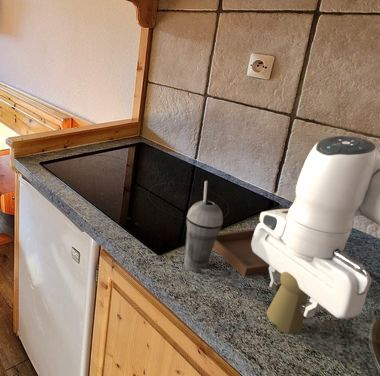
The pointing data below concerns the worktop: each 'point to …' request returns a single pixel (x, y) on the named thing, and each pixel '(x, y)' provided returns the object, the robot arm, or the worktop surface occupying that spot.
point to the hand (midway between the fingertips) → (290, 301)
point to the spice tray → (240, 252)
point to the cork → (287, 306)
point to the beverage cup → (201, 232)
